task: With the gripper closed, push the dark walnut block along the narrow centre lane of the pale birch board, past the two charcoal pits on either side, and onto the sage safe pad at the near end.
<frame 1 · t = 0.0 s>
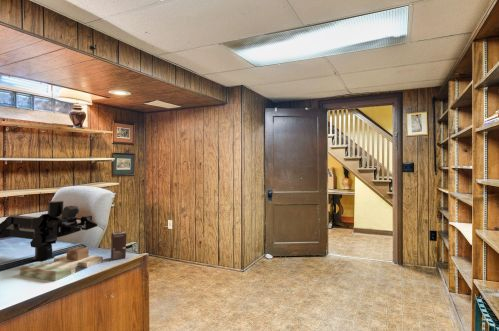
hand: (89, 227, 132), 17 cm above the table, tool horizontal, fingers open, 9 cm apart
block: (77, 258, 135), point 2 cm above the table, touching trap board
trap board: (64, 267, 128), on the table
box: (118, 258, 142), on the table
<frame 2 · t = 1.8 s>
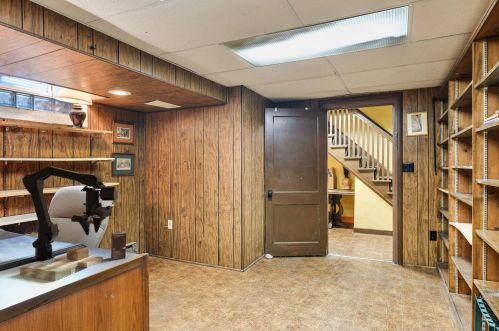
hand: (92, 233, 142), 11 cm above the table, tool pointing down, fingers open, 5 cm apart
nothing on the table moved.
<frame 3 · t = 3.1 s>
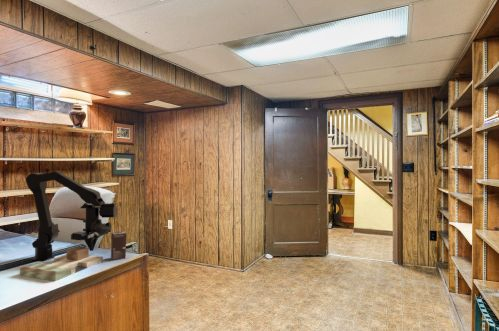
hand: (91, 250, 142), 3 cm above the table, tool pointing down, fingers closed
nothing on the table moved.
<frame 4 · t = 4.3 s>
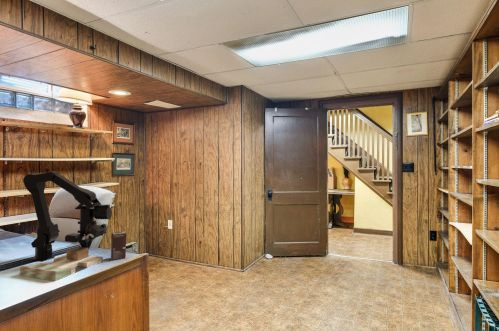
hand: (86, 252, 139), 3 cm above the table, tool pointing down, fingers closed
block: (77, 258, 135), point 2 cm above the table, touching gripper, trap board
everything else where it was.
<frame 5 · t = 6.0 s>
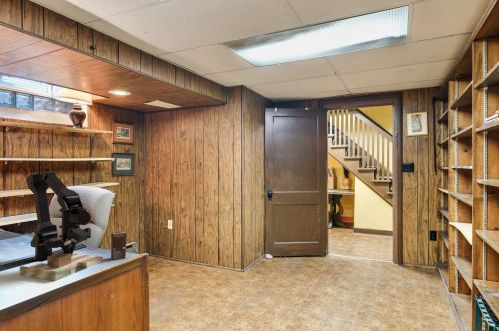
hand: (69, 258, 130), 3 cm above the table, tool pointing down, fingers closed
block: (59, 264, 126), point 2 cm above the table, touching gripper, trap board
everything else where it was.
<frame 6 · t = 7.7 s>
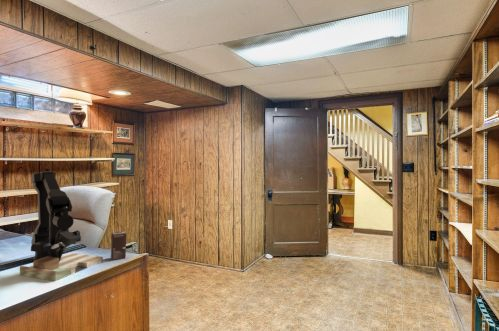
hand: (57, 263, 125), 3 cm above the table, tool pointing down, fingers closed
block: (46, 269, 120), point 2 cm above the table, touching gripper, trap board
everything else where it was.
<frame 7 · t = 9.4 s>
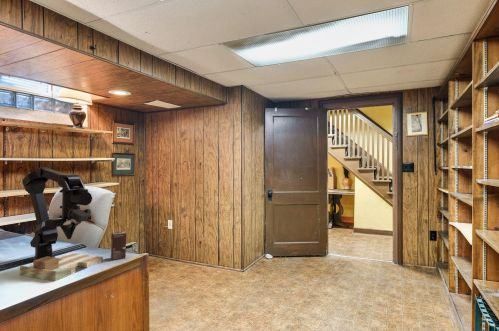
hand: (69, 239, 132), 11 cm above the table, tool pointing down, fingers closed
block: (46, 269, 120), point 2 cm above the table, touching trap board
everything else where it was.
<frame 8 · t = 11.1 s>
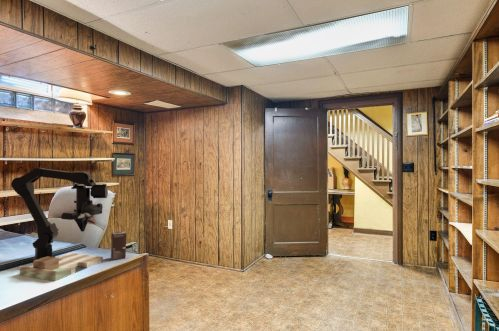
hand: (82, 231, 143), 12 cm above the table, tool pointing down, fingers closed
nothing on the table moved.
at the end: block inside the target area on the trap board (0.2 cm from its centre), point 2.0 cm above the trap board's base; block tilted 0°; block moved 15.1 cm from its start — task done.
